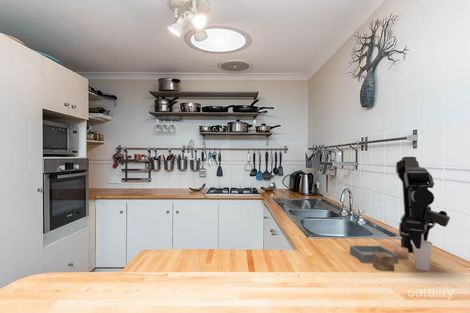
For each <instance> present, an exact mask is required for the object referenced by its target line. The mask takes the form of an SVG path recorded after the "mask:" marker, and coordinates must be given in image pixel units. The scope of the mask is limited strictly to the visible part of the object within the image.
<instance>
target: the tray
mask: <svg viewBox="0 0 470 313" xmlns="http://www.w3.org/2000/svg"><path fill="white" fill-rule="evenodd" d="M372 253H387V254H389V255H391V256H393V257H394V265H395V264H397V265H398V264H400V262H399V261H400V259H398V255H397V254H395V253H394V251H392V250H389V249H387V248H385V247H383V246H381V245H349V254H351V255H353V257H354V258H356V259H357V260H359V261H360V262H362V263H363V264H373V256H372Z"/></svg>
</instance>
